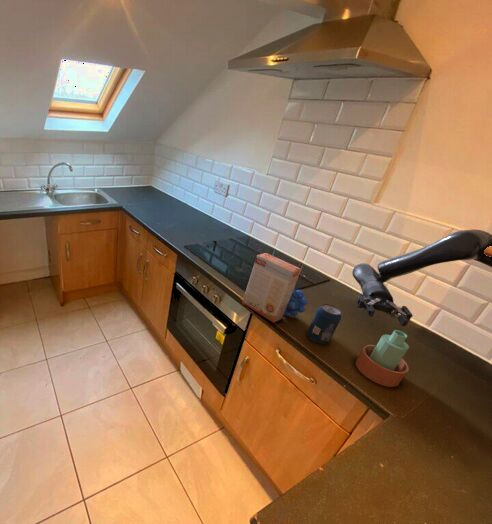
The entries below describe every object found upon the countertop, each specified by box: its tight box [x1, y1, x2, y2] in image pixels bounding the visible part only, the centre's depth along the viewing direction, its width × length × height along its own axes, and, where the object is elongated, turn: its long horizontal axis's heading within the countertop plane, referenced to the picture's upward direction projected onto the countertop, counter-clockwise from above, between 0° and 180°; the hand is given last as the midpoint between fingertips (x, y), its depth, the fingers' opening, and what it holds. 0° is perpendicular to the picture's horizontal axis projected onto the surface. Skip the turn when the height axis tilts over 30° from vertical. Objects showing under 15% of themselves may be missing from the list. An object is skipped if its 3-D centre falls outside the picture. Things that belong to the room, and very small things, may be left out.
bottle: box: [369, 329, 410, 371], centre depth 86 cm, size 6×6×14 cm
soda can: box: [307, 303, 342, 345], centre depth 98 cm, size 7×7×12 cm
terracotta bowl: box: [355, 344, 410, 388], centre depth 88 cm, size 11×11×6 cm
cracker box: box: [241, 252, 302, 324], centre depth 107 cm, size 14×6×21 cm, turn 35°
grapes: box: [283, 287, 308, 317], centre depth 108 cm, size 12×7×12 cm, turn 79°
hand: (388, 318), depth 92 cm, fingers open, 8 cm apart
